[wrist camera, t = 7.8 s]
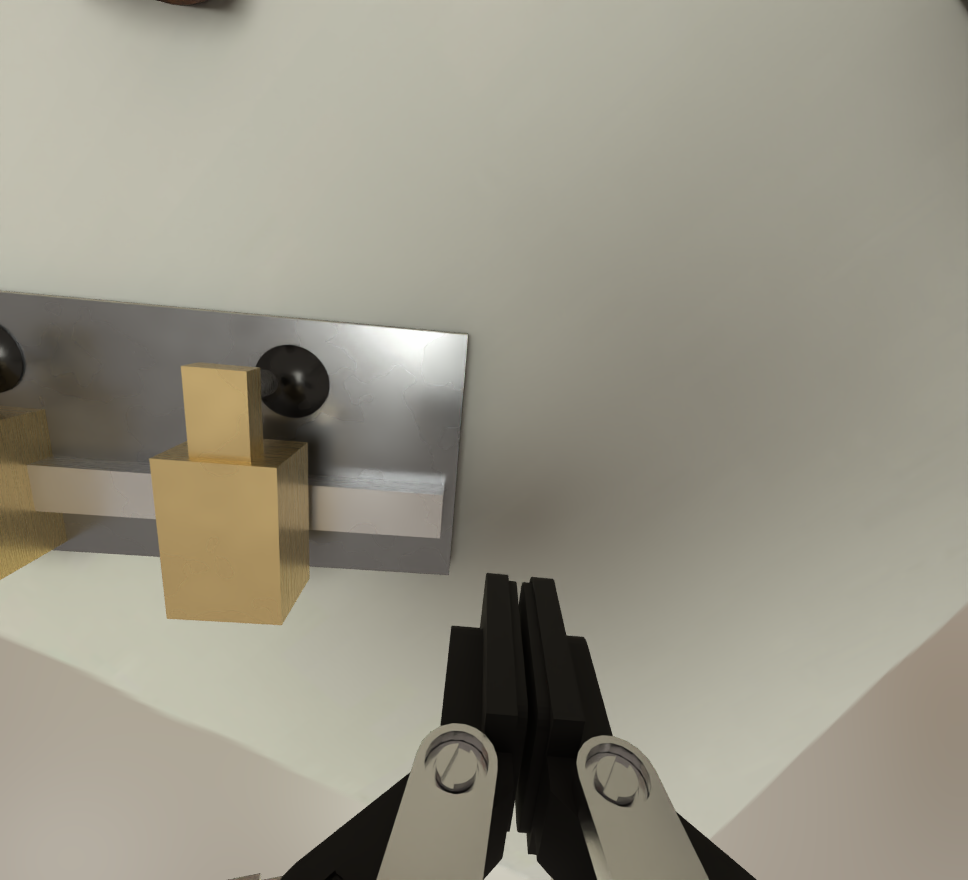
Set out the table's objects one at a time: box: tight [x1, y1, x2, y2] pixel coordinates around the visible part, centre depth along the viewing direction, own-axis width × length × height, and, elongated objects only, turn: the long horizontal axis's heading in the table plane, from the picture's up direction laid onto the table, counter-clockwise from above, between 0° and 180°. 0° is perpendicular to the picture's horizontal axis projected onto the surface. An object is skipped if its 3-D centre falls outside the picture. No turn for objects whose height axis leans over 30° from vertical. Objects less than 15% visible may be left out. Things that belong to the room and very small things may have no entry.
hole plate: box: [0, 291, 468, 580], centre depth 18 cm, size 22×11×6 cm, turn 85°
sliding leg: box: [149, 362, 309, 625], centre depth 17 cm, size 4×9×4 cm, turn 175°
